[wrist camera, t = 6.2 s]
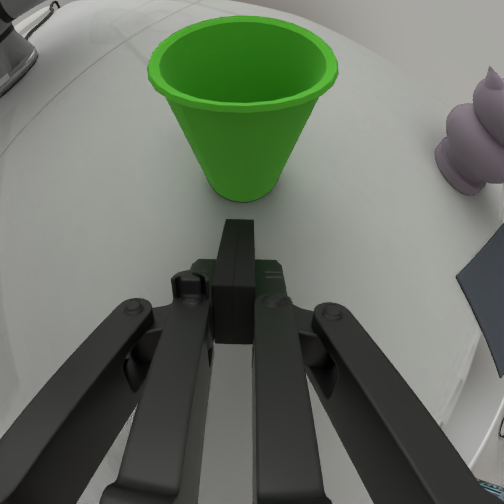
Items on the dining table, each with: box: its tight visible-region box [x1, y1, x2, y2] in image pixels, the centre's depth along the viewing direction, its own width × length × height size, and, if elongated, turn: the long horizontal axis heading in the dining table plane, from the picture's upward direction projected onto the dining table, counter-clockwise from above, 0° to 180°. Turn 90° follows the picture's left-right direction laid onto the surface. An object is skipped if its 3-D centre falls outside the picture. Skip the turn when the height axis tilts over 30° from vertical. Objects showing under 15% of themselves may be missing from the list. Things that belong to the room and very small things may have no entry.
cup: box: [147, 16, 338, 202], centre depth 16 cm, size 9×9×11 cm
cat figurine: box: [435, 66, 504, 195], centre depth 17 cm, size 9×8×12 cm
